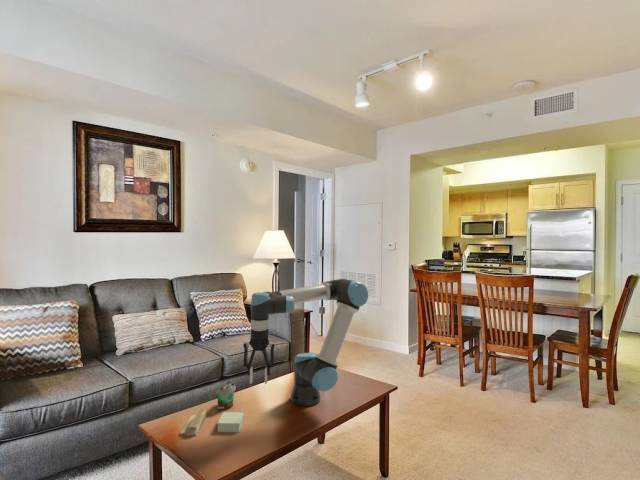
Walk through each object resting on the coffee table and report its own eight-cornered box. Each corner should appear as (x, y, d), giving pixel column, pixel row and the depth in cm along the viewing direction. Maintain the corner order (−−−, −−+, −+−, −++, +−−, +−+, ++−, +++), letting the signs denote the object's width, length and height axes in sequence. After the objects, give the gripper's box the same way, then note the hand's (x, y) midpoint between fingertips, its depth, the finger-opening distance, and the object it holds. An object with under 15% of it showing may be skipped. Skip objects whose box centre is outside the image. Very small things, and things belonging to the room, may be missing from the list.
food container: (228, 413, 177) (229, 391, 177) (216, 411, 178) (216, 390, 178) (239, 401, 189) (239, 381, 189) (227, 400, 190) (228, 380, 190)
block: (243, 421, 170) (243, 412, 170) (239, 432, 160) (239, 423, 160) (223, 421, 169) (223, 412, 169) (217, 432, 159) (217, 423, 159)
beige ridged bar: (206, 417, 172) (206, 409, 172) (196, 435, 156) (196, 427, 156) (191, 417, 172) (192, 409, 172) (180, 435, 156) (180, 426, 156)
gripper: (281, 327, 169) (280, 379, 169) (239, 326, 168) (238, 379, 168) (280, 331, 161) (279, 386, 161) (236, 330, 161) (235, 385, 161)
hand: (258, 382), depth 165 cm, fingers open, 6 cm apart
